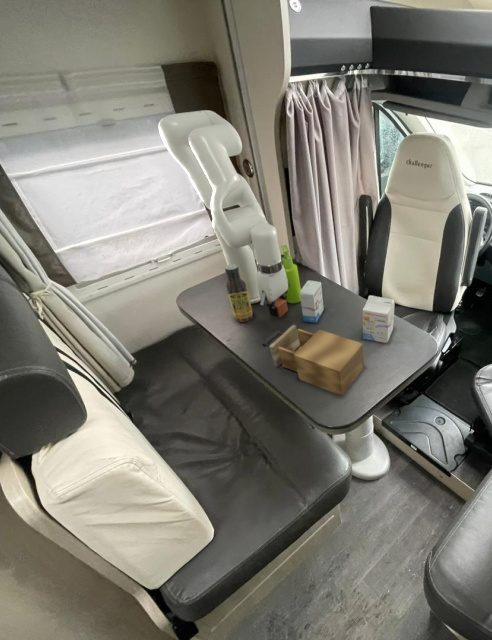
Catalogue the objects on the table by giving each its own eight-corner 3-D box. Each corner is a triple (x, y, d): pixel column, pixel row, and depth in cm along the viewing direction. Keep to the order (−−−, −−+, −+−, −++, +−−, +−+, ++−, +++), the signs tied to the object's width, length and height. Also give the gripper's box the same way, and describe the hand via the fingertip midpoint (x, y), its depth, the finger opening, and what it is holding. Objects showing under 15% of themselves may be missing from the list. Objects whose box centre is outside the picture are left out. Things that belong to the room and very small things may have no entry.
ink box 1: (317, 323, 125) (312, 294, 117) (303, 321, 126) (298, 292, 118) (324, 309, 131) (321, 280, 123) (311, 307, 132) (307, 279, 124)
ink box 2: (362, 339, 119) (361, 305, 110) (369, 324, 125) (369, 290, 116) (387, 343, 117) (388, 309, 108) (393, 328, 123) (395, 294, 114)
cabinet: (298, 379, 105) (293, 354, 99) (322, 353, 114) (319, 329, 107) (342, 396, 101) (339, 371, 94) (363, 367, 109) (362, 343, 103)
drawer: (260, 360, 110) (254, 341, 105) (283, 339, 117) (279, 319, 112) (312, 380, 104) (308, 360, 99) (333, 356, 111) (330, 336, 106)
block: (270, 313, 126) (267, 303, 123) (277, 306, 129) (275, 296, 126) (280, 317, 124) (278, 307, 121) (288, 310, 127) (286, 300, 124)
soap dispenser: (300, 292, 140) (292, 242, 126) (303, 301, 135) (295, 251, 122) (285, 294, 139) (275, 245, 125) (287, 304, 134) (277, 254, 120)
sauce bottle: (236, 324, 125) (219, 273, 111) (234, 315, 129) (218, 264, 115) (255, 320, 126) (241, 269, 113) (253, 311, 131) (239, 260, 117)
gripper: (277, 250, 120) (285, 296, 133) (241, 274, 109) (254, 321, 122) (295, 256, 118) (302, 302, 131) (261, 281, 107) (272, 328, 120)
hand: (278, 311), depth 126 cm, fingers closed on block, 4 cm apart
